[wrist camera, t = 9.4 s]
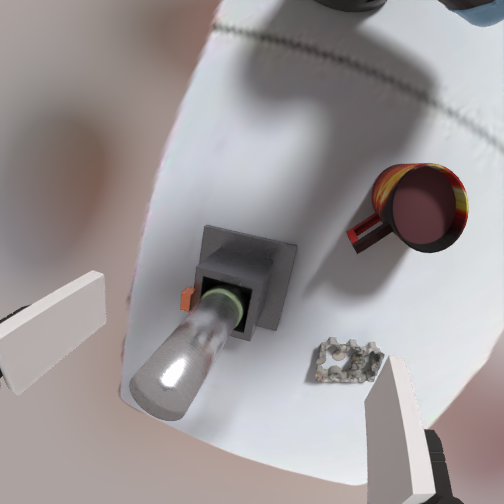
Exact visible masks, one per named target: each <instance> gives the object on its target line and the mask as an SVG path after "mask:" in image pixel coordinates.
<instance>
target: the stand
mask: <svg viewBox="0 0 504 504" xmlns="http://www.w3.org/2000/svg"><path fill="white" fill-rule="evenodd" d="M296 249H297V246H295V245H291V244H287V243H283V242H279V241H274V240H270V239H266V238H262V237H257V236H253V235H249V234H244V233H240V232H236V231H231V230H227V229H223V228H218V227H214V226H209V225H206V226H204V233H203V241H202V248H201V256H200V263H199V265H198V266H196V275H195V283H194V288H192V287H187V288H186V289H185V290H184V291H183V292H182V295H181V307H180V309H181V310H184V311H187V312H189V311H190V310H191V309H192V310H193V309H194V308H195V307H196V306H197V305H198V304H199V301H200V299H201V297H202V296H203V295H204V294H205V293H206V292H207V291H208V290H209V289H211V288H213V287H214V286H215V285H216V284H218V283H220V282H227V283H231V284H235V285H238V286H239V287H240V288H241V289H242V290H243V291H244V293H245V295H246V301H247V302H246V307H245V309H244V314H243V317H242V319H241V320H240V322H239V324H238V325H237V326H236V327H235V328H234V329H233V331H232V332H231V334H230V336H233V337H236V338H240V339H243V340H247V341H250V340H251V338H252V336H253V333H254V331H255V329H256V326H260V327H264V328H268V329H272V330H277V327H278V323H279V319H280V315H281V311H282V307H283V303H284V299H285V295H286V291H287V287H288V283H289V279H290V275H291V271H292V266H293V262H294V258H295V254H296ZM192 310H191V311H192Z"/></svg>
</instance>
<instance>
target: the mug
mask: <svg viewBox="0 0 504 504" xmlns="http://www.w3.org/2000/svg"><path fill="white" fill-rule="evenodd" d="M372 204H373V208H374V211H375V213H374V214H373V215H371V216H370V217H368V218H367V219H365V220H364V221H362V222H361V223H359V224H358V225H356V226H355V227H353V228H352V229H350V230H348V231H347V235H348V237H349V239H350V241H351V243H352V245H353V247H354V249H355V251H356V253H357V254H358V253H360V252H362V251H364V250H365V249H367V248H368V247H370V246H371V245H373V244H374V243H376V242H377V241H379V240H380V239H382V238H383V237H385V236H386V235H388V234H389V233H391V232H394V233H395V234H396V235H397V236H398V237H399V238H400V239H401V240H402V241H403V242H404V243H405V244H407V245H408V246H409V247H411V248H412V249H414V250H416V251H420V252H423V253H434V252H439V251H442V250H444V249H446V248H448V247H449V246H451V245H452V244H453V243H454V242H455V241H456V240H457V239H458V238H459V237H460V235H461V234H462V232H463V230H464V228H465V226H466V222H467V218H468V210H469V207H468V198H467V194H466V191H465V188H464V186H463V184H462V183H461V181H460V180H459V178H458V177H457V176H456V175H455V174H454V173H453V172H452V171H451V170H449V169H448V168H446V167H444V166H441V165H439V164H433V163H418V164H397V165H393V166H390V167H388V168H387V169H385V170H384V171H383V172H382V173H381V174H380V175H379V176H378V178H377V179H376V181H375V183H374V186H373V190H372ZM380 220H381V221H382V222H383V224H382V225H380V226H379V227H377V228H376V229H374V230H373V231H371V232H370V233H368V234H367V235H365V236H364V237H362V238H361V239H358V237H357V236H358V235H359V234H361V233H363V232H364V231H366V230H367V229H369V228H370V227H372V226H373V225H375V224H376V223H377V222H379V221H380Z"/></svg>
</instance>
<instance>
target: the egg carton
mask: <svg viewBox="0 0 504 504" xmlns="http://www.w3.org/2000/svg"><path fill="white" fill-rule="evenodd" d="M330 346H336V347H337V349H338V350H336V351H335V352H333V354H332V357H333V359H334V360H336V361H340V360H343V359H344V358H345V353H346V352H347V351H349V349H350V347H352V348H353V349H355V348H357V349H356V350H357V351H358V352H356V353H354V354H353V355H352V357H351V361H352V368H350V369H349V370H348V371H341V368H340V367H339V366H331V367H330V368H329V369H323V368H322V366H321V364H323V363H324V362H325V361H326V350H327V349H328V348H329V347H330ZM371 351H373V353H374V355H373V356H371V358H370V364H371V369H370V370H368V371H366V373H360V371H359V370H361V369H362V368H364V366H365V365H366V362H365V355H368V354H370V352H371ZM319 356H320V357H318V358H317V361H316V364H317V372H316V376H315V380H317V381H321V382H333V381H338V382H351V383H355V382H364V381H369V382H374V379H375V376H376V375H377V373H378V370H379V368H380V366H381V364H382V360H383V358H384V354H383V353H381V352H380V349H379V348H377V347H376V343H375V342H369V344H368V345H366V346H364V347H360V346H358V345H357V344H356V340H352V339H351V340H349V342H348V343H346V344H339V343H337V341H336V338H335V337H330V338H329V340H328V341H326V342H322V344H321V351H320V355H319Z"/></svg>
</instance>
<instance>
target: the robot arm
mask: <svg viewBox="0 0 504 504" xmlns="http://www.w3.org/2000/svg"><path fill="white" fill-rule="evenodd" d="M315 1H317V2H319V3H320V4H322V5H325V6H327V7H330V8H333V9H337V10H341V11H348V12H362V11H368V10H372V9H375V8H377V7H379V6H381V5H382V4H383V3H385V2H386V0H315ZM438 1H439V2H441V3H442V4H444V5H445V7H446V8H447V9H448V10H450V11H452V12H454V13H457V14H458V15H459V16H461V17H462V18H464V19H465V20H466V21H468V22H469V23H471V24H473V25H476V26H479V27H487V26H491V25H494V24H496V23H498V22H500V21H502V20H503V19H504V0H438ZM104 281H105V280H104V274H102V273H99V272H96V271H94V270H92V271H90V272H89V273H87V274H85V275H83V276H81V277H79V278H78V279H76V280H74V281H72V282H70V283H69V284H67V285H65V286H63V287H62V288H60V289H58V290H56V291H54V292H53V293H51V294H49V295H48V296H46V297H44V298H42V299H41V300H39V301H37V302H35V303H34V304H31V305H28V306H24V307H21V308H20V309H18V310H16V311H15V312H13V314H10V315H8V316H7V317H6V318H3V319H2V320H0V378H1V377H2V376H3V378H4V380H5V382H6V385H7V387H8V388H9V389H11V390H12V391H13V392H14V393H15V394H16V395H17V396H18V395H20V394H21V393H22V392H23V391H24V390H25V389H27V388H28V387H29V386H30V385H31V384H33V383H34V382H35V381H36V380H37V379H39V378H40V377H41V376H42V375H43V374H44V373H45V372H47V371H48V370H49V369H50V368H52V367H53V366H54V365H55V364H56V363H58V362H59V361H60V360H61V359H62V358H64V357H65V356H66V355H67V354H68V353H70V352H71V351H72V350H73V349H75V347H77V346H78V345H80V344H81V343H82V342H83V341H84V340H86V339H87V338H88V337H89V336H91V335H92V334H93V333H94V332H96V331H97V330H98V329H99V328H101V327H102V326H103V325H104V324H106V323H107V319H106V303H105V282H104ZM364 402H365V417H366V435H367V466H368V501H367V504H464V503H463V502H462V501H460V499H458V498H455V497H453V495H452V490H451V485H450V480H449V475H448V470H447V465H446V463H445V456H444V454H443V448H442V444H441V440H440V438H439V437H438V436H437V434H436V433H435V431H434V430H426V429H424V428H423V424H422V420H421V415H420V411H419V407H418V403H417V400H416V396H415V392H414V388H413V385H412V381H411V378H410V374H409V371H408V368H407V364H406V361H405V358H400V357H395V356H390V355H389V356H388V358H387V360H386V362H385V364H384V366H383V368H382V370H381V372H380V374H379V376H378V378H377V380H376V381H375V383H374V385H373V387H372V389H371V391H370V392H369V394H368V396H367V398H366V399H365V401H364Z"/></svg>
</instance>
